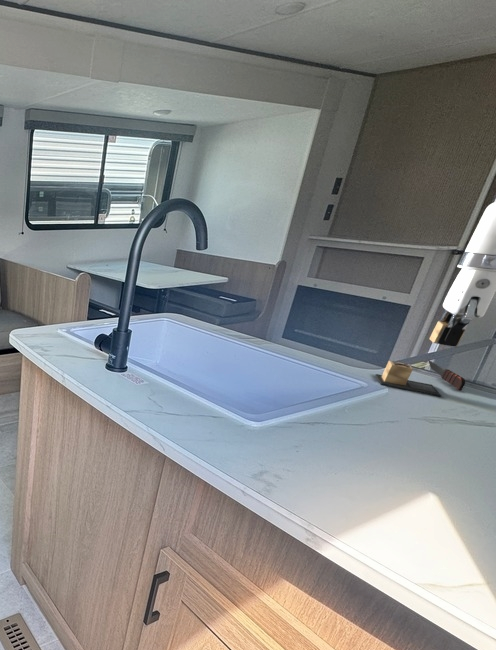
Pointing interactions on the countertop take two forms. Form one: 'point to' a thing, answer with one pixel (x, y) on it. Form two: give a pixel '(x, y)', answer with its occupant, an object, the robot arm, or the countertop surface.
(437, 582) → the countertop surface
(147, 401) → the countertop surface
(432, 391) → the word mat
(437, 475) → the countertop surface
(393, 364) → the wooden block
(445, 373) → the knife
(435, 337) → the tile
